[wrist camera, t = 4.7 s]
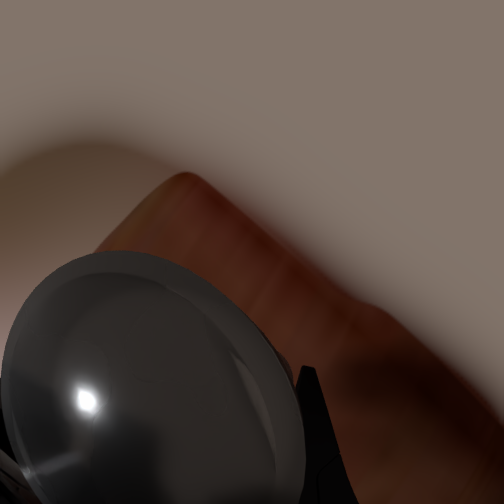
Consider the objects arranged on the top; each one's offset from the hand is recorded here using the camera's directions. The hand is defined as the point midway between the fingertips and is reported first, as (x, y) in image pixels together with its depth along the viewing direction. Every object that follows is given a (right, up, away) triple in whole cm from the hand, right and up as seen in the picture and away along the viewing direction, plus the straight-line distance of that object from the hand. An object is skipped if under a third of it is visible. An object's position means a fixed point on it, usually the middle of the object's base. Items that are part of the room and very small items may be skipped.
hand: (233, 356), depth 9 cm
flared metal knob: (+1, -4, +6) cm, 7 cm away
